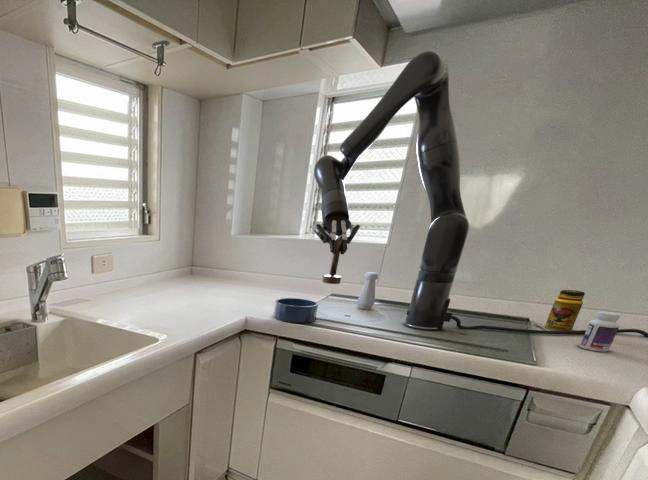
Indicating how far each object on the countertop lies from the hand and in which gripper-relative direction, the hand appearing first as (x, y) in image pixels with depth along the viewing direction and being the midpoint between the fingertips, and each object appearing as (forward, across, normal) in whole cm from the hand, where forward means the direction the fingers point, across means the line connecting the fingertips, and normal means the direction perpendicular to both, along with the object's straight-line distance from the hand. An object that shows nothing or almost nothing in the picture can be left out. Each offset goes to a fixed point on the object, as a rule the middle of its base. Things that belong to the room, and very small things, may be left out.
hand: (339, 252), depth 120 cm
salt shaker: (-2, +21, +34) cm, 40 cm away
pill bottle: (+27, +64, +4) cm, 70 cm away
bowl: (+12, -9, +19) cm, 24 cm away
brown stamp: (+5, 0, +8) cm, 10 cm away
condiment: (+13, +70, +18) cm, 74 cm away
